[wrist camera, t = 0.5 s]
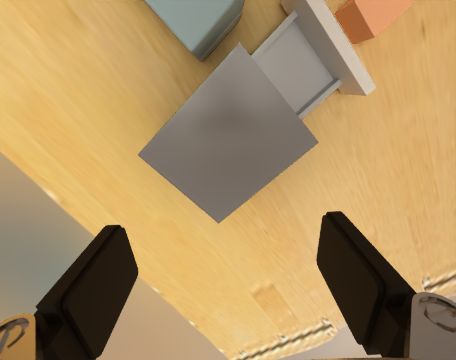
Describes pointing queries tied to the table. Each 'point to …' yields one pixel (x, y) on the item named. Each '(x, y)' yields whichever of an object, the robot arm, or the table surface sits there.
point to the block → (369, 17)
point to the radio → (198, 21)
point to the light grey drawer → (311, 57)
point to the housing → (229, 138)
